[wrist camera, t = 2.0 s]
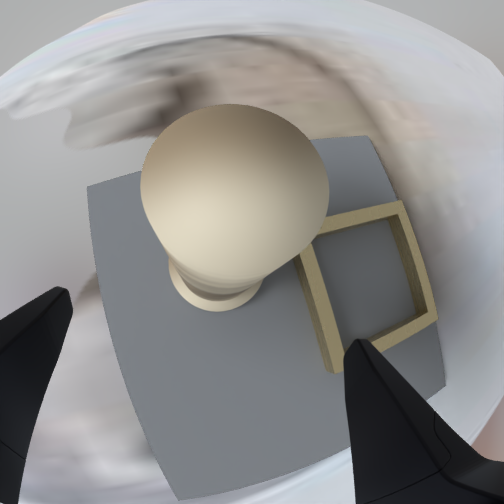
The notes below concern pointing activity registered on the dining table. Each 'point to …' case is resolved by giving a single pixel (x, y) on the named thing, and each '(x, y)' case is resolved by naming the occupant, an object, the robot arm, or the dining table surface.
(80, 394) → the dining table surface
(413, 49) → the dining table surface
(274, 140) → the disc
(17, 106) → the dining table surface
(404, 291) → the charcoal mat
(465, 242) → the dining table surface
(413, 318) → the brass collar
